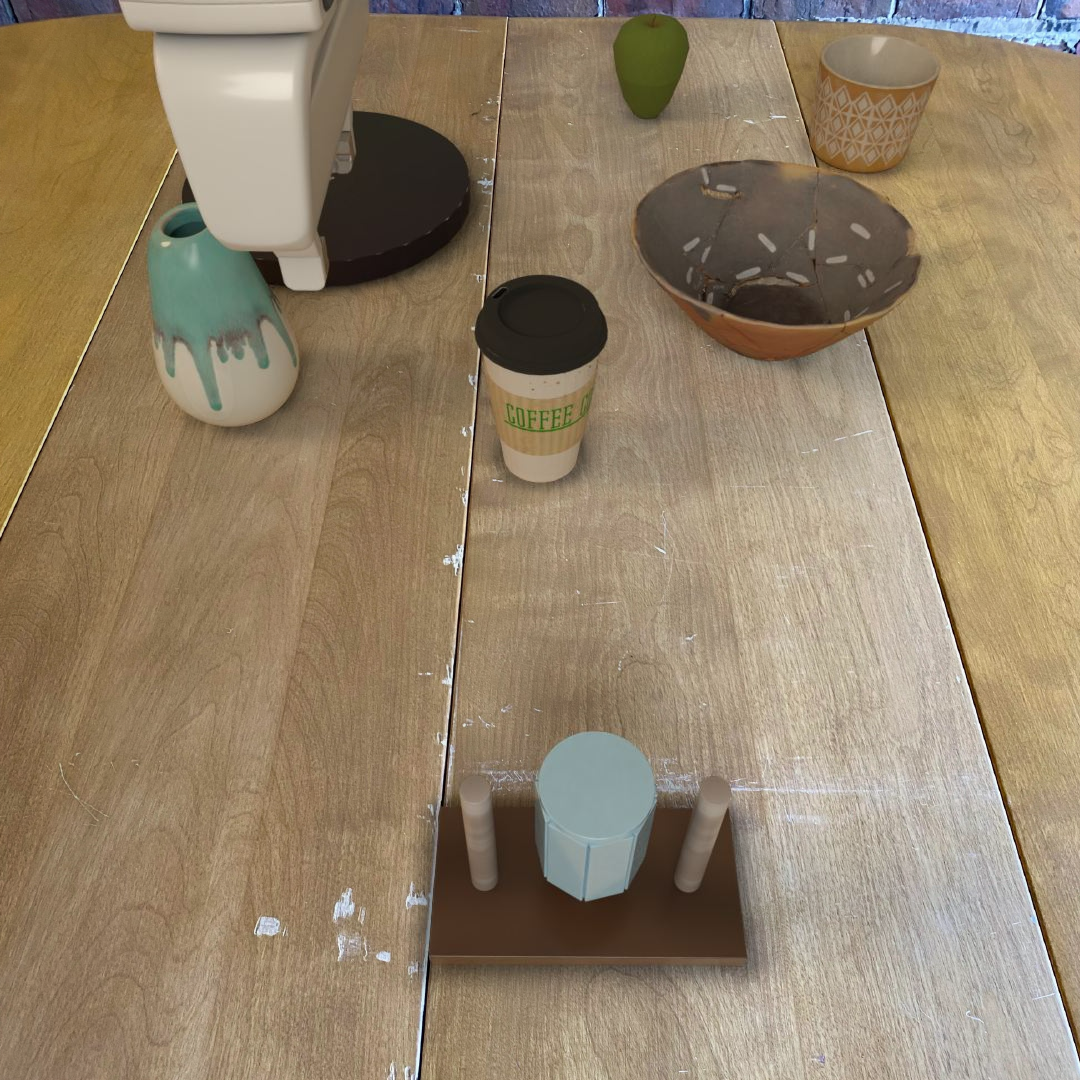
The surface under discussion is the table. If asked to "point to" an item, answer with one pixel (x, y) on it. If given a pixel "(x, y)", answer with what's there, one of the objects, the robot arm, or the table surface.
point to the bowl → (775, 254)
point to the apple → (650, 61)
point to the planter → (870, 100)
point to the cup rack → (583, 926)
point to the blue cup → (593, 814)
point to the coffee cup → (540, 370)
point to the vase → (216, 325)
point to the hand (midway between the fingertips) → (324, 220)
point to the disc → (385, 202)
